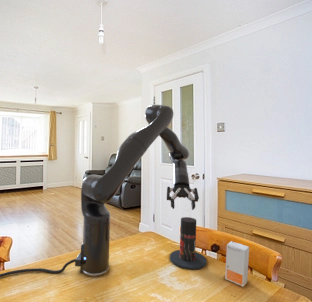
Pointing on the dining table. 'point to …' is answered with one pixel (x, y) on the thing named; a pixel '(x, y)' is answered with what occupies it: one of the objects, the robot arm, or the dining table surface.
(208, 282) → the dining table surface
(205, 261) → the mat
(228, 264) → the cosmetic box
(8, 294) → the dining table surface
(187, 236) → the deodorant
